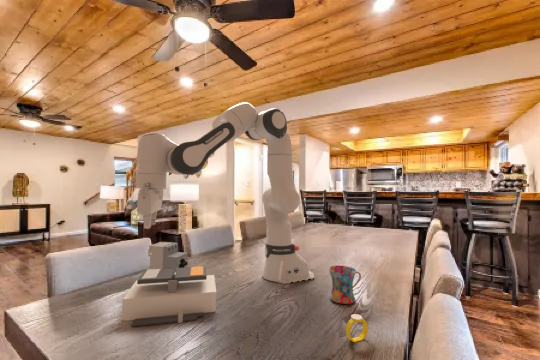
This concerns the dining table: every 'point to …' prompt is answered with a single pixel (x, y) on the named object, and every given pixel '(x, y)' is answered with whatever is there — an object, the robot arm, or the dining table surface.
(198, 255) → the dining table surface
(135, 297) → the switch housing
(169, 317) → the dark grey piece
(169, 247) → the circuit breaker
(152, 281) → the block
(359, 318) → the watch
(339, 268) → the mug
